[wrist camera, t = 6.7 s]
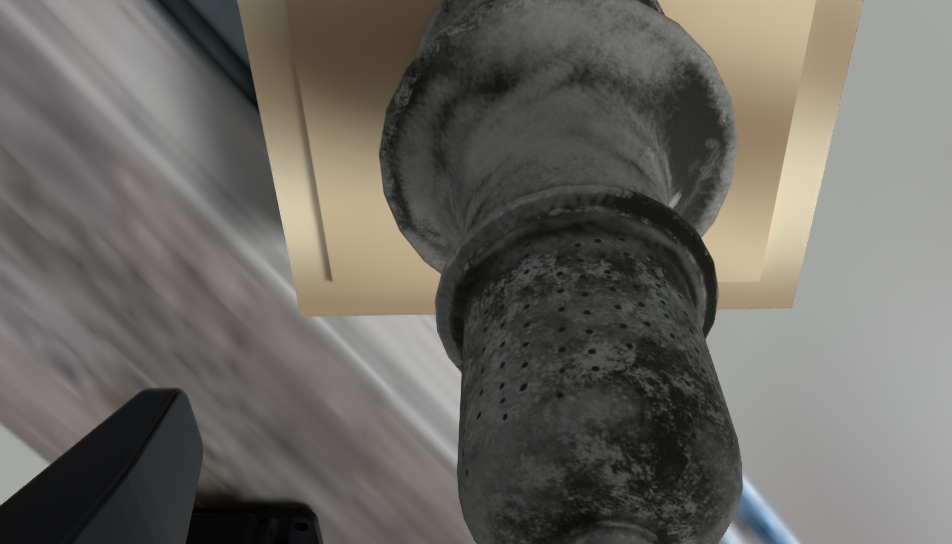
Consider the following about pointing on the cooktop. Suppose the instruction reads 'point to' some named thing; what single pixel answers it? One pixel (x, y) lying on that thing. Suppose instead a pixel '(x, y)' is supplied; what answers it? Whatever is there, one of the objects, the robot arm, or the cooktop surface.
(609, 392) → the salt shaker
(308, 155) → the soap dish
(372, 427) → the cooktop surface
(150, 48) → the cooktop surface
